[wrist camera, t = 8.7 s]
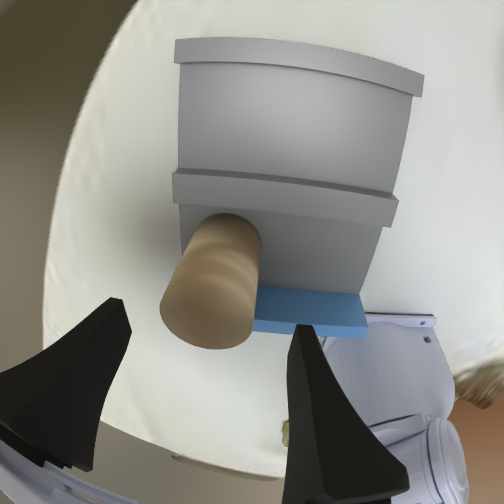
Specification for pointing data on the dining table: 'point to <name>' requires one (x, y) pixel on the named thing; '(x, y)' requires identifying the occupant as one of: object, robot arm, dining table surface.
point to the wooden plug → (215, 284)
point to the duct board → (294, 166)
